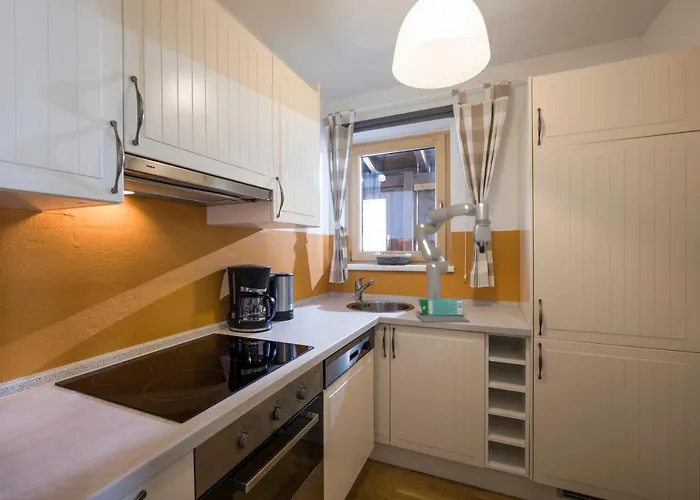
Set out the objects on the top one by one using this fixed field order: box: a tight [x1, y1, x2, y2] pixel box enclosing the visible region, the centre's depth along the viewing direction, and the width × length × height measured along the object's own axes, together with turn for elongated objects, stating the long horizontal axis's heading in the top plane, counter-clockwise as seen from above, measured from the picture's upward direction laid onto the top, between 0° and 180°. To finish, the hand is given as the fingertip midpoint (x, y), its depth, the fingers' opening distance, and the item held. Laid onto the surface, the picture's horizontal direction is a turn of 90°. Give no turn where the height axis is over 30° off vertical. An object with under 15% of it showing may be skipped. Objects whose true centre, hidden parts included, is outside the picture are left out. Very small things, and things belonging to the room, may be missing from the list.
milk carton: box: [417, 298, 464, 316], centre depth 192 cm, size 9×9×25 cm
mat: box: [415, 314, 470, 323], centre depth 180 cm, size 16×25×1 cm, turn 91°
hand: (482, 253), depth 195 cm, fingers closed
